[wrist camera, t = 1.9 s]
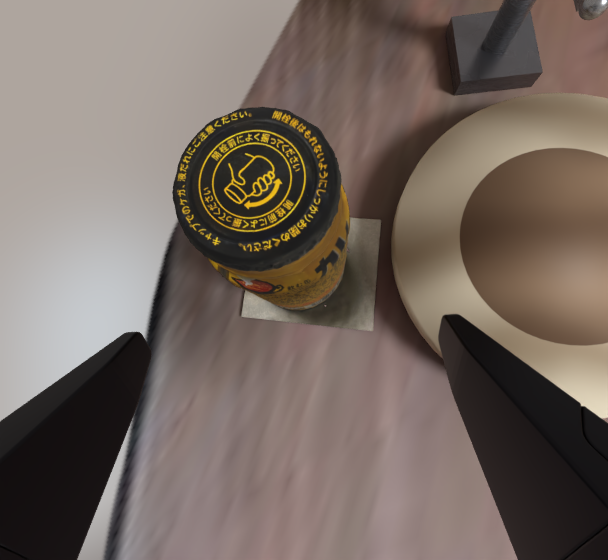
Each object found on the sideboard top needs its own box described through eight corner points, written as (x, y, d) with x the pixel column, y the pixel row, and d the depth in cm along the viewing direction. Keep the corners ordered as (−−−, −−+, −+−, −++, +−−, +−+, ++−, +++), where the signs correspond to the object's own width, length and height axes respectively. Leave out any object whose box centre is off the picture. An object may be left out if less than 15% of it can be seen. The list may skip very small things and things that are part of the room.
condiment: (256, 212, 22) (164, 73, 10) (380, 220, 21) (438, 77, 9) (242, 317, 21) (119, 297, 9) (372, 331, 20) (424, 330, 8)
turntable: (766, 406, 16) (810, 413, 15) (406, 414, 18) (413, 422, 16) (679, 94, 19) (708, 74, 18) (378, 126, 21) (381, 111, 19)
